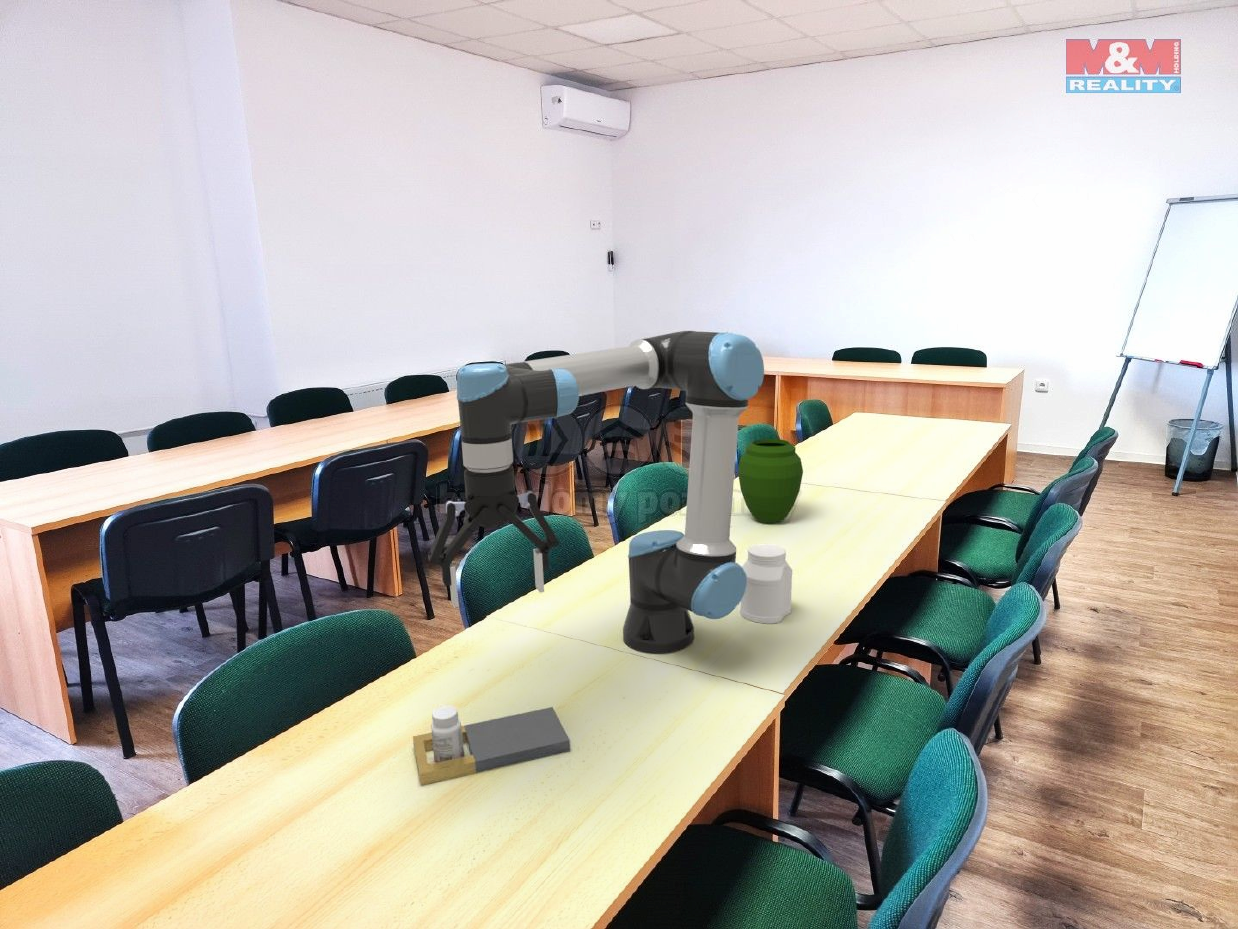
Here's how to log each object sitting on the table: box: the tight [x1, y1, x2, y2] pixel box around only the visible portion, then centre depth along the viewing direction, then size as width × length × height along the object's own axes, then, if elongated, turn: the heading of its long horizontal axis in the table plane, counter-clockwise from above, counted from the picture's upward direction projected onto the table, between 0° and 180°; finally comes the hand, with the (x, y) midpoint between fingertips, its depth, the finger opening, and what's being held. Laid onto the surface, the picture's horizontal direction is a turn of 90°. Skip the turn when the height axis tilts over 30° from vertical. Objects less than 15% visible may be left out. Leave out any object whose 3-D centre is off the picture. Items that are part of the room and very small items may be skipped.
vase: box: [737, 438, 804, 524], centre depth 242 cm, size 20×20×24 cm
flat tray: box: [412, 706, 571, 786], centre depth 132 cm, size 24×11×2 cm, turn 110°
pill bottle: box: [430, 705, 465, 763], centre depth 129 cm, size 5×5×8 cm
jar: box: [739, 543, 793, 625], centre depth 178 cm, size 12×10×15 cm
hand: (498, 596), depth 126 cm, fingers open, 13 cm apart
